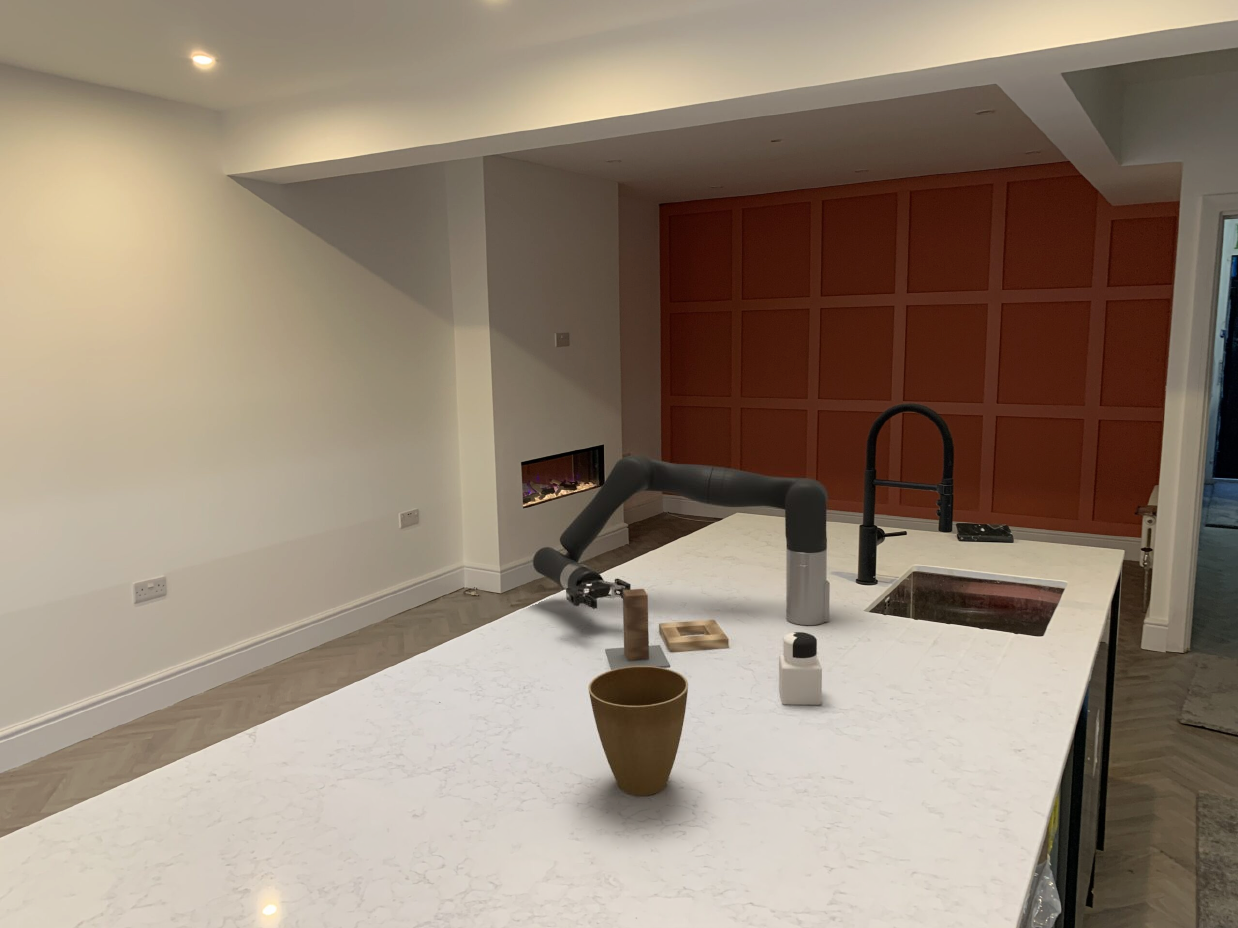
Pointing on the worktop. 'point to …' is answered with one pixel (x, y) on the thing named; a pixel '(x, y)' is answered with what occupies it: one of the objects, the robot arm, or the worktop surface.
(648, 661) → the grey mat
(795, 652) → the medicine bottle
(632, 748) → the plant pot
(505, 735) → the worktop surface
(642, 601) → the walnut post
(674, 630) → the oak socket
